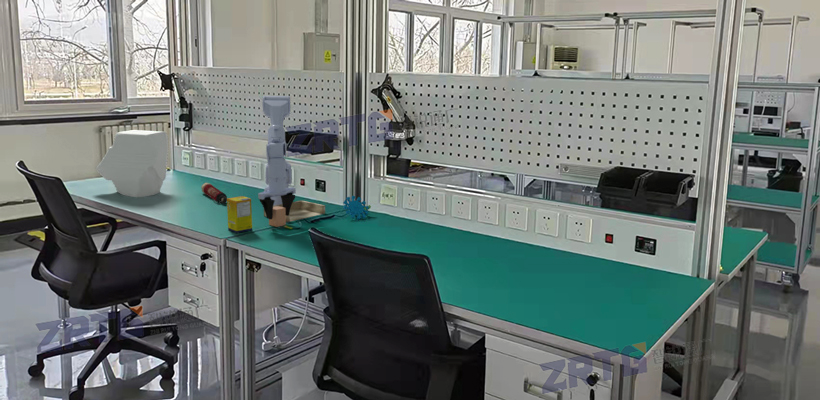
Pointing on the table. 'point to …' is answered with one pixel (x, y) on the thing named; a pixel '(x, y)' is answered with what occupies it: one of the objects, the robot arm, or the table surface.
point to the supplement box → (239, 214)
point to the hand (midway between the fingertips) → (278, 216)
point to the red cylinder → (214, 193)
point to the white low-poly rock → (136, 162)
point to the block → (278, 217)
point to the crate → (303, 210)
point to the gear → (356, 207)
